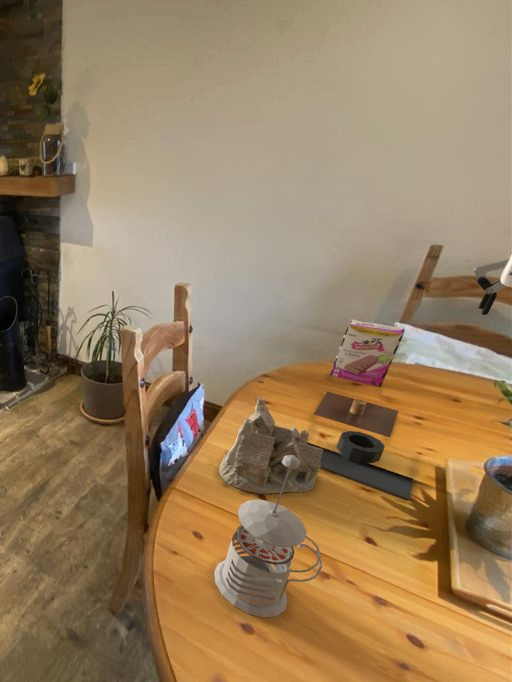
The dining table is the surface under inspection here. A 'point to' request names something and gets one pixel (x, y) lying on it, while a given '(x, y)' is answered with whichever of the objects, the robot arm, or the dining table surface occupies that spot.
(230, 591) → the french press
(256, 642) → the dining table surface
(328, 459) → the felt mat
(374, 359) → the candy bar box
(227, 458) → the ceramic cottage
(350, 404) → the tape stand
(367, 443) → the tape roll
